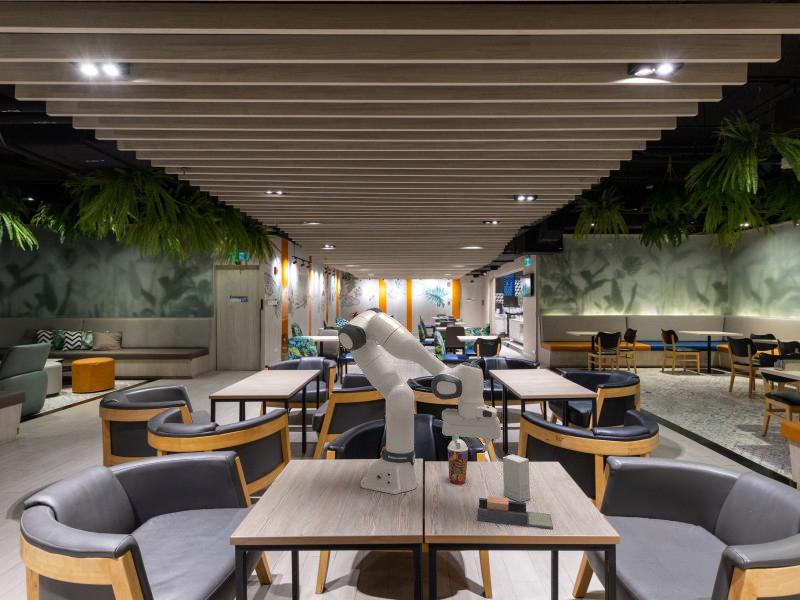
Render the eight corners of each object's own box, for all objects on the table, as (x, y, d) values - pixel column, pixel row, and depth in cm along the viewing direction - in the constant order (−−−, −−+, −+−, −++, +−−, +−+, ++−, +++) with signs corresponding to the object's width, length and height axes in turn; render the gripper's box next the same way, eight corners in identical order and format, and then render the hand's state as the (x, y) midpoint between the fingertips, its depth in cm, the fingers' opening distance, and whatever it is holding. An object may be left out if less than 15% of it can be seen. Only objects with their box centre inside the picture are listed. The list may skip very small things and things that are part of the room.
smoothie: (454, 486, 181) (455, 436, 181) (443, 479, 188) (443, 430, 189) (471, 483, 185) (472, 433, 185) (460, 476, 192) (460, 428, 192)
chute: (477, 520, 152) (477, 509, 152) (479, 508, 162) (479, 497, 162) (553, 529, 147) (553, 518, 147) (550, 515, 156) (550, 505, 156)
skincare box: (530, 499, 170) (530, 459, 170) (519, 503, 166) (519, 462, 167) (513, 491, 177) (513, 453, 177) (502, 495, 173) (502, 455, 174)
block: (486, 515, 154) (487, 501, 154) (487, 509, 159) (487, 496, 159) (508, 517, 152) (508, 504, 152) (508, 511, 157) (508, 498, 157)
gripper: (439, 409, 159) (440, 449, 159) (499, 413, 153) (500, 454, 153) (443, 406, 165) (443, 444, 165) (501, 409, 159) (501, 449, 159)
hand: (471, 449), depth 159 cm, fingers open, 8 cm apart
